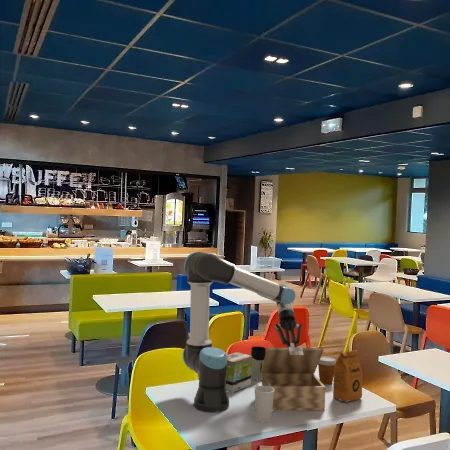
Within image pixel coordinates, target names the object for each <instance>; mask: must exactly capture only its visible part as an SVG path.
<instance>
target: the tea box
mask: <svg viewBox="0 0 450 450" xmlns="http://www.w3.org/2000/svg"><path fill="white" fill-rule="evenodd" d="M226 355H227V367H226V391H227V393H232V394H233V393H235V392H237V391H239V390H243V389H245V388H247V387H250V386H251V385H252V384H251V383H252V379H251V370H252V356H251V354H250V355H249V354H245V353H241V352H239V351H238V352H237V351H236V352H235V351H234V352H233V353H230V354H226Z"/></svg>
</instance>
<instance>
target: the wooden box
mask: <svg viewBox="0 0 450 450" xmlns="http://www.w3.org/2000/svg"><path fill="white" fill-rule="evenodd" d="M261 386H269V387H272V388H274V398H273V406H272V412H273V411H274V412H275V411H279V412H280V411H284V412H285V411H292V412H293V411H325V410H326V409H325V408H326V386H325V384H322V383H321V381H320V380H319V377H317V376H316V375H315V373H262V380H261Z"/></svg>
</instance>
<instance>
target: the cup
mask: <svg viewBox="0 0 450 450" xmlns="http://www.w3.org/2000/svg"><path fill="white" fill-rule="evenodd" d="M273 398H274V388H272V387H269V386H262V385H258V386H255V387H254V403H255V405H254V408H255V409H254V410H255V420H256V421H258V422H262V423H269V422H271V421H272V413H273V411H272V406H273ZM268 421H269V422H268Z"/></svg>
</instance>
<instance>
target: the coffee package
mask: <svg viewBox="0 0 450 450" xmlns="http://www.w3.org/2000/svg"><path fill="white" fill-rule="evenodd" d="M358 354H359V350H357V349H355V350H350V351H349V350H348V351H347V350H346V351H344V352H343V351H342V352H340V353H339V355H338V356H337V357H338V358H337V359H336V363H335V368H334V376H333V382H332V385H333V389H332V391H333V392H332V397H333V399H337V400H340V401H341V402H345V403H347V402H353V401H357V400H361V399H362V397H363V380H364V379H363V377H364V376H363V370H362V367H361V364H360V363H359V359H358V356H357V355H358Z"/></svg>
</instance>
